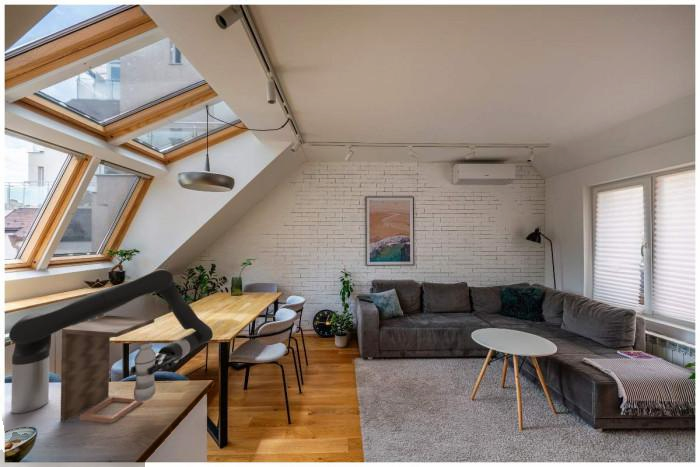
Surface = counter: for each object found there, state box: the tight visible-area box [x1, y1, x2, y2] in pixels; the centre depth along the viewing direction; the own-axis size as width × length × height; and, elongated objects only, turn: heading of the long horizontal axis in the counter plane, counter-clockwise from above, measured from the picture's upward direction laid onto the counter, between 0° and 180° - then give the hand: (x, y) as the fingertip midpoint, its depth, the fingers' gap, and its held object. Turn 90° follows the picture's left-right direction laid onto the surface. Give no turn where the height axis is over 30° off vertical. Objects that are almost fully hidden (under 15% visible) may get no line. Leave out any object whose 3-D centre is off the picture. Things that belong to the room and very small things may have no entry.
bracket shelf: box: [60, 315, 155, 423], centre depth 106 cm, size 16×20×32 cm
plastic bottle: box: [133, 340, 157, 403], centre depth 103 cm, size 6×7×20 cm
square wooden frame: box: [79, 394, 142, 424], centre depth 106 cm, size 12×12×2 cm
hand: (140, 371), depth 101 cm, fingers closed on plastic bottle, 6 cm apart
